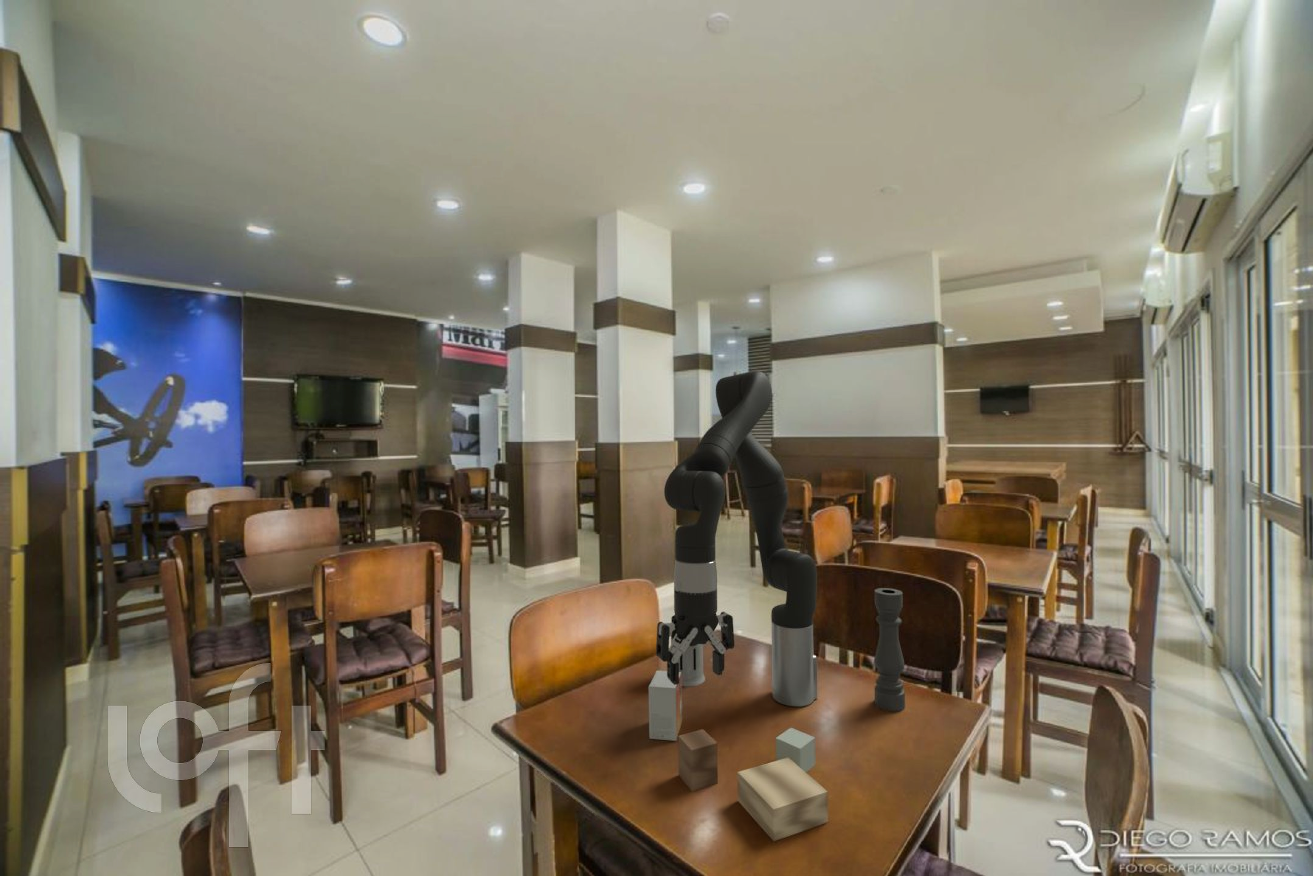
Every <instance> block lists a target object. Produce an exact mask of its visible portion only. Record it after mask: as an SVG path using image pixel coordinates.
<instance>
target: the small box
mask: <svg viewBox="0 0 1313 876" xmlns="http://www.w3.org/2000/svg"><path fill="white" fill-rule="evenodd" d="M682 688H683V686H682V673H681V672H679V684H676V685H674V684H673V683H672V682H671V681H670V680H669V679H668V677H667V670H656V671H655V672H654V676H653V678H652V680H651V682H650V683H649V685H648V730H649V731H648V734H649V735H648V736H649V737H648V738H649V739H650V740H651V739H652V740H660V741H661V740H662V741H673V742H677V741H678V736H679V733H680V730H681V726H682V723H683V702H682V701H683V700H682V699H683V698H682V697H683V694H682V692H683V689H682Z"/></svg>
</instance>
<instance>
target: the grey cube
mask: <svg viewBox="0 0 1313 876" xmlns="http://www.w3.org/2000/svg"><path fill="white" fill-rule="evenodd" d="M775 757H776V758H775V761H778V760H781V759H784V758H789V759H791V760H792V761H793V762H794V763H795V764H796V765H797V766H799V767H800V768H801V769H802V770H803V771H804V772H806V773H808V772H809V771H810V770H811V769H813V767H815V766H816V737H814V736H813V735H809V734H808V733H805V732H802V731H800V730H797V729H796V728H793V727H789V728H788V729H786V730H785V731H784V732H783V733H781V734H780V735H778V736H776V738H775Z"/></svg>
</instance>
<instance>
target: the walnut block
mask: <svg viewBox="0 0 1313 876" xmlns="http://www.w3.org/2000/svg"><path fill="white" fill-rule="evenodd" d="M677 742H678V743H677V744H678V745H677V746H678V747H677V749H678V750H677V751H678V752H677V753H678V756H677V757H678V776H679V777H680V779H682V781H683V783H684V784H685V785H686V786H687V787H688V788H689V789H690V791H691V792H695V791H698V790H701V789H704V788H707V787H711V786H715V785H717V784H718V783H719V780H718V779H719V778H718V777H719V776H718V769H719V768H718V766H719V765H718V762H719V761H718V742H717V741H716V740H715V739H714V738H713V737H711V736H710V734H708V733H707V732H706V731H705V729H703V728H702V729H698V730H695V731H692V732H687V733H683V734H680V735H679V734H678V736H677Z"/></svg>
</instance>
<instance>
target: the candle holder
mask: <svg viewBox="0 0 1313 876" xmlns="http://www.w3.org/2000/svg"><path fill="white" fill-rule="evenodd" d="M903 603H904V602H903V591H902V590H899V589H895V588H891V587H890V588H888V587H878V588H876V589H874V606H875V608H876V611H877V613H878V614H879V615H877V616H876V618H875V620H876V622H877V623H878V624H879V639H878V643H877V647H876V651H875V656H874V665H875V667H876V669H877V671H878V674H879V675H878V677H877V678H876V679H875V686H874V704H875V705H876V707H878V708H879V709H882V710H884V711H888V712H902V711H904V710H905V709H906V691H905V690H904V683H903V682H902V680H901V678H900V677H901V674H902V673H903V671H904V667H905V660H904V656H903V652H902V648H901V644H900V640H899V626H900V625H902V619H901V618H900V617H899V616H900V613H901V612H902V609H903Z"/></svg>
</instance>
